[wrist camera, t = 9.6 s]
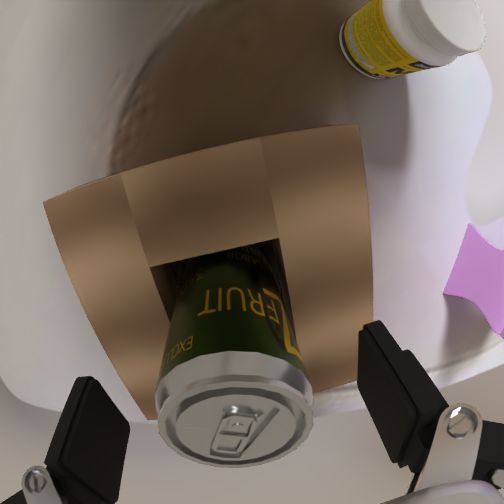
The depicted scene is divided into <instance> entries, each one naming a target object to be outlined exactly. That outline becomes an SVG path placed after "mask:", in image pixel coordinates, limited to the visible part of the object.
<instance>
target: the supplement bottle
mask: <svg viewBox="0 0 504 504" xmlns="http://www.w3.org/2000/svg"><path fill="white" fill-rule="evenodd" d="M485 37H486V30H485V24H484V20H483V17H482V14H481V12H480V10H479V8H478V6H477V4H476V3H475V1H474V0H371V1H370V2H369V3H367V4H366V5H365V6H363V7H362V8H361V9H359V10H358V11H357V12H355V13H354V14H353V15H352V16H350V17H349V18H348V19H347V20H346V21H345V22H344V24H343V25H342V27H341V30H340V34H339V41H340V46H341V49H342V52H343V54H344V56H345V57H346V59H347V60H348V61H349V63H350V64H351V65H352V66H353V67H354V68H355V69H356V70H358V71H359V72H360V73H362V74H364V75H366V76H368V77H371V78H375V79H388V78H393V77H396V76H400V75H404V74H408V73H413V72H417V71H421V70H425V69H430V68H435V67H440V66H444V65H447V64H449V63H451V62H452V61H454V60H455V59H456V58H457V56H462V55H464V54H467V53H471V52H475V51H477V50H479V49H480V48H481V47H482V46H483V44H484V42H485Z"/></svg>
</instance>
